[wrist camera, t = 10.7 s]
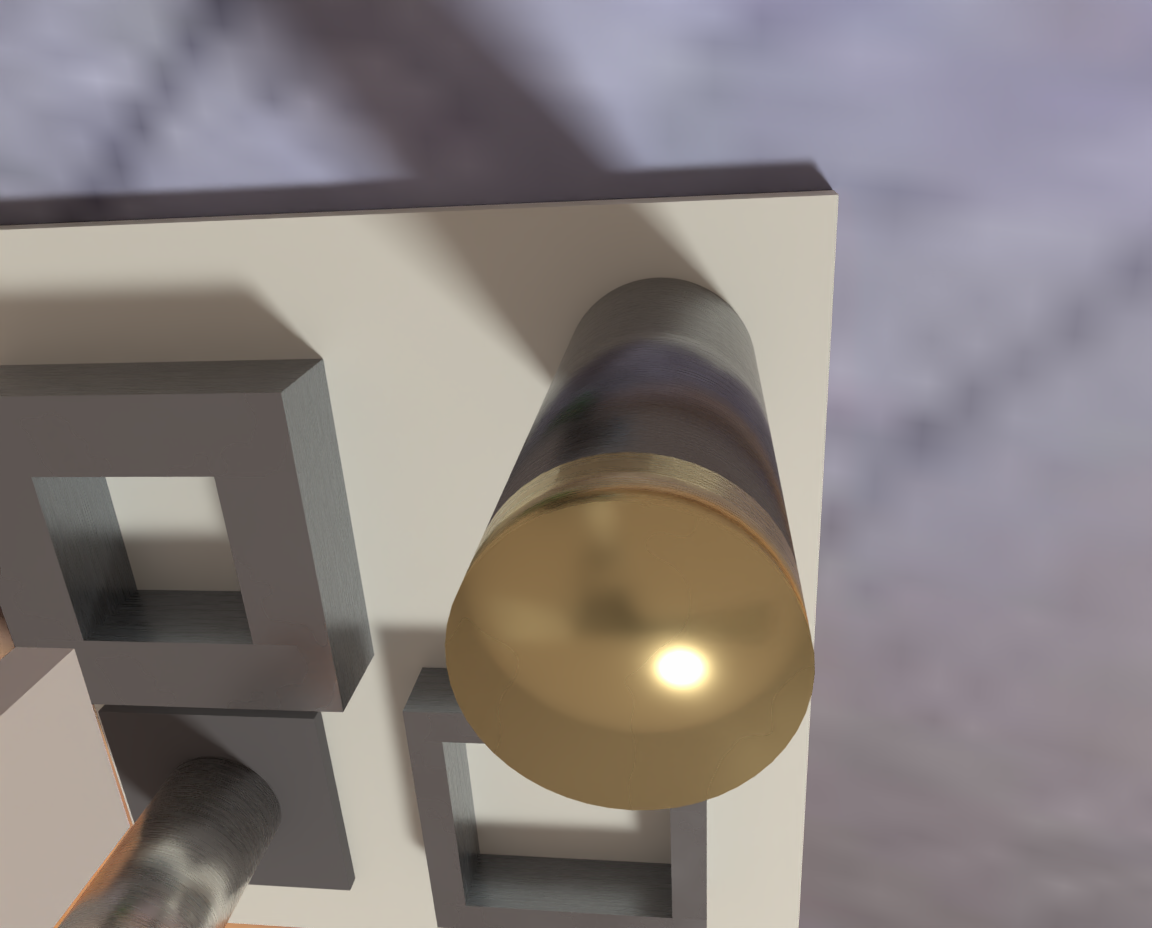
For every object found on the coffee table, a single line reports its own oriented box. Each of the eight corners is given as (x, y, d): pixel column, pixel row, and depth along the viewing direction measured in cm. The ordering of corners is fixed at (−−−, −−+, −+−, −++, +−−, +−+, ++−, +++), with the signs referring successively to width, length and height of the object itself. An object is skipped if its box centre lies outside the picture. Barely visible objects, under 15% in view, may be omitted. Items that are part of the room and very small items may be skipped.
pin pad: (107, 701, 29) (98, 712, 28) (320, 708, 28) (314, 718, 27) (160, 867, 32) (152, 878, 31) (355, 878, 31) (350, 890, 30)
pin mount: (0, 365, 24) (-74, 398, 22) (322, 358, 23) (280, 392, 21) (90, 648, 28) (34, 702, 26) (374, 654, 27) (342, 712, 24)
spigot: (560, 280, 22) (424, 502, 11) (758, 274, 21) (824, 502, 10) (571, 458, 24) (465, 802, 13) (753, 458, 23) (806, 818, 12)
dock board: (-37, 227, 24) (-60, 232, 23) (833, 190, 21) (838, 194, 20) (175, 899, 33) (163, 918, 33) (794, 938, 30) (796, 959, 30)
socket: (422, 667, 27) (402, 711, 25) (705, 674, 26) (706, 721, 24) (453, 874, 30) (437, 927, 28) (706, 889, 29) (706, 944, 27)
